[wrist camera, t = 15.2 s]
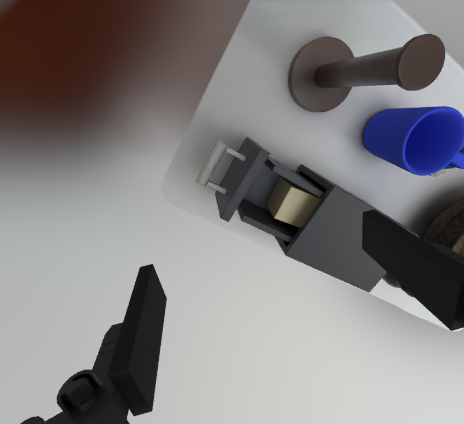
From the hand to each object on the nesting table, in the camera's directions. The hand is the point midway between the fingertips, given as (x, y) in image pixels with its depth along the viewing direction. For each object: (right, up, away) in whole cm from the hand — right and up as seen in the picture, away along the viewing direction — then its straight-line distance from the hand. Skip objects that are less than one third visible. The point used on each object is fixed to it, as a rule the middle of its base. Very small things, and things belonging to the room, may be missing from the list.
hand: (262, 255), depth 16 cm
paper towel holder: (+10, +21, +20) cm, 31 cm away
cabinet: (+13, +3, +29) cm, 32 cm away
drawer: (+2, +7, +24) cm, 26 cm away
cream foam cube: (+7, +5, +25) cm, 26 cm away
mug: (+23, +15, +25) cm, 37 cm away
